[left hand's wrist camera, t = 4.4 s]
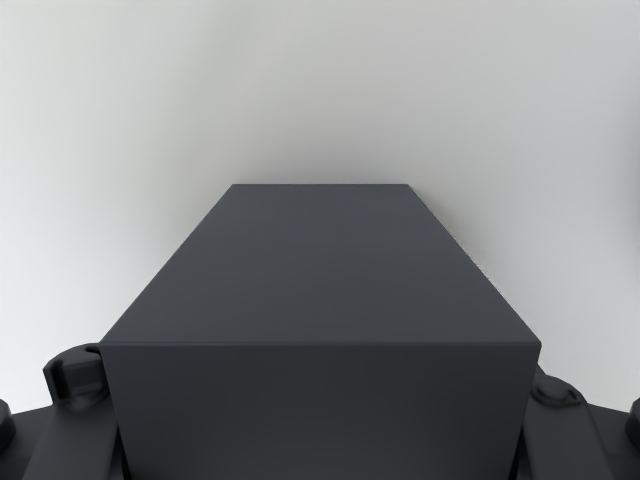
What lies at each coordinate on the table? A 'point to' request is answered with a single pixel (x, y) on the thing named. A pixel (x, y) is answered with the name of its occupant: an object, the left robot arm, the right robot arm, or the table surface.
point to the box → (320, 346)
